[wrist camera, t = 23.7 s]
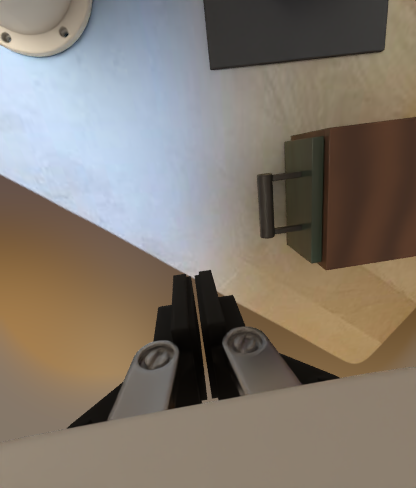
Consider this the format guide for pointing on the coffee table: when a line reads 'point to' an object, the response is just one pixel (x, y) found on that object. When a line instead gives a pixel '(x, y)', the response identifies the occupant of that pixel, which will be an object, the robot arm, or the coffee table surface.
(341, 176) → the cabinet
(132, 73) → the coffee table surface
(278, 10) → the mat
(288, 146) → the drawer
